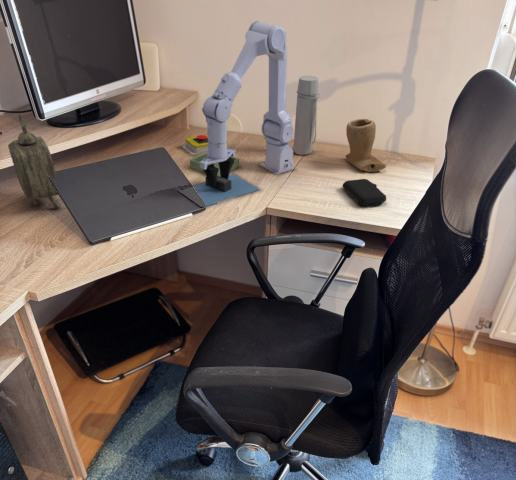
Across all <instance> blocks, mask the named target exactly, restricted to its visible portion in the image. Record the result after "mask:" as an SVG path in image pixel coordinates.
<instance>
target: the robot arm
mask: <svg viewBox="0 0 516 480" xmlns="http://www.w3.org/2000/svg"><path fill="white" fill-rule="evenodd" d="M244 34H245V35H244V36H245V37H244V38H245V42H244V45H243V46H242V49H241V50H240V52H239V54H238V57H237V59H236V60H235V62H234V65H233V67H232V69H231V71H229V72H226V73H224V74H223V75H222V77H221V79H220V81H219V83H218V85H217V87H216V88H215V90H214V92H213V94H212V95H211V96H209V97H208V98H206V99H205V100H204V102H203V106H202V107H201V111H202V114H203V116H204V117H205V122H206V127H207V130H206V131H207V134H208V153H207V152H206V153H207V156H206V157H205V158H204V159H203V160H202V161H200V168H201V169H203V171H204V172H205V173H204V172H203V173H204V174H205V177H206V176H207V179H208V182H209V186H210V187H212V188H216V183H217V173H218V170H219V168H220V177H223V178H226V179H228V177H229V175H230V173H231V171H232V170H231V168H232V166H233V164H234V159H231V156H232V157H236V149H234V148H231V147H230V148H227V147H228V132H227V131H228V130H227V129H228V125H227V124H228V123H227V121H228V119H229V118H230V117H231V114H232V108H233V102H234V101H235V99H236V97H237V95H238V94H239V92H240V91H241V89H242V86H243V85H242V79H243V77H244V76H245V74H246V73H247V71H248V70H249V69H250V67H251V65H252V64H253V63H254V61H256V58H257V57H260V56H265V55H266V57H268V110H267V112H265V113H264V114H263V117H262V118H263V119H262V120H263V121H262V124H261V133H262V135H263V136H264V140H265V160H264V161H265V162H262V163H259V166H261V167H263V168H264V169H266V170H268V171H270V172H272V173H274V174H276V175H278V174H279V175H280V174H283V173H286V172H289V171H293V170H295V168H294V166H293V164H294V163H293V162H294V151H293V148H292V146H291V145H289V143H290V142H291V140H292V138H293V137H294V136H293V135H294V127H293V119H292V117H291V116H290V114H289V113H288V112H287V110H286V109H287V106H286V105H287V70H288V68H287V67H288V63H287V62H288V58H287V57H288V46H287V31H286V30H285V29H284V28H283V27H281V26H280V25H274V24H269V23H266V22H261V21H260V20H255V21H252V22H251V24H250V25H249V27H248V29H247V31H246V32H245V33H244ZM215 163H219V168H216V167H215V166H214V164H215ZM230 170H231V171H230Z"/></svg>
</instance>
